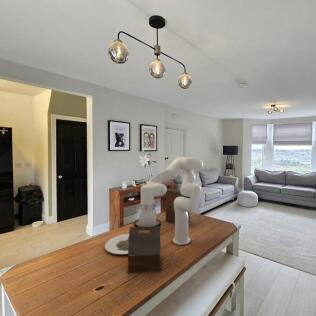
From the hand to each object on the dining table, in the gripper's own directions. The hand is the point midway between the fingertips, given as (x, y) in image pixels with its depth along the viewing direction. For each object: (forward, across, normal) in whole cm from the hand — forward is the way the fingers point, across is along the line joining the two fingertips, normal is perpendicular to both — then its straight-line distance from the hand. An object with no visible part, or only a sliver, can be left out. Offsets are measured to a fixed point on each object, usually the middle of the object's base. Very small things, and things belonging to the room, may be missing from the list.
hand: (147, 235), depth 114 cm
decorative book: (+16, -19, -58) cm, 63 cm away
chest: (+15, +1, +5) cm, 15 cm away
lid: (-1, +1, +8) cm, 9 cm away
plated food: (+15, +15, -19) cm, 29 cm away
